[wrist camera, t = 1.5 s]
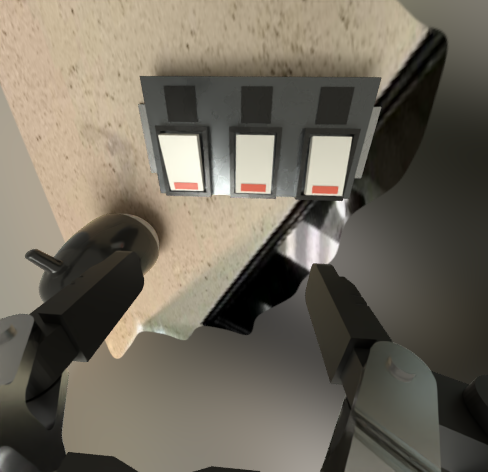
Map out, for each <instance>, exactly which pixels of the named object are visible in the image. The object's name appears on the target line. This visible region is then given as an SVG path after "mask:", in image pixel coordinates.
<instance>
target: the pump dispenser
mask: <svg viewBox="0 0 488 472" xmlns="http://www.w3.org/2000/svg"><path fill="white" fill-rule="evenodd" d="M115 251H130V252H136V253H137V254H138V257H139V261H140V265H141V269H142V273H143V276H144V275H145V274H146V273H147V272H148V271H149V270H150V269H151V268H152V267H153V266H154V264H155V263H156V261H157V258H158V251H159V239H158V236H157V234H156V232H155V230H154V229H153V227H152V226H151V225H150V224H149V223H148V222H146V221H145V220H143V219H142V218H140V217H137V216H135V215H131V214H116V213H112V214H106V215H102V216H100V217H98V218H96V219H94V220H93V221H91V222H90V223H88V224H87V225H86V226H84V227H83V228H82V229H80V230H79V231H78V232H77V233H75V234H74V235H73V236H72V237H71V238H70V239H69V240H68V241H67V242H66V243H65V244H64V245H63V246H62V248H61V249H60V250H59V251H58V253H57V254H56V255H55V256H54V257H52V256H50V255H48V254H46V253H44V252H42V251H40V250H38V249H33V250H30V251H28V252H27V253H26V255H25V258H26V259H28V260H29V261H31V262H32V263H34V264H35V265H37V266H39V267H40V268H42V269H43V270H45V272H44V273H43V276H42V279H41V281H40V285H39V294H40V297H41V299H42V301H43V302H44V303H45V302H46V301H47V300H49V299H50V298H51V297H53V296H54V295H55V294H56V293H58V292H59V291H60V290H62V289H63V288H64V287H65V286H67V285H70V284H71V282H72V281H73V280H75V279H76V278H77V277H80V275H81V274H82V273H84V272H85V271H86V270H88V269H89V268H90V267H92V266H94V265H96V264H98V263H100V262H102V261H104V260H105V259H106V258H108V257H109V256H110V255H111V254H113V253H114V252H115Z"/></svg>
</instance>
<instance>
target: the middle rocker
mask: <svg viewBox="0 0 488 472" xmlns="http://www.w3.org/2000/svg"><path fill="white" fill-rule="evenodd" d="M273 149H274V135H236V193H260V194H271V180H272V165H273Z"/></svg>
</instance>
